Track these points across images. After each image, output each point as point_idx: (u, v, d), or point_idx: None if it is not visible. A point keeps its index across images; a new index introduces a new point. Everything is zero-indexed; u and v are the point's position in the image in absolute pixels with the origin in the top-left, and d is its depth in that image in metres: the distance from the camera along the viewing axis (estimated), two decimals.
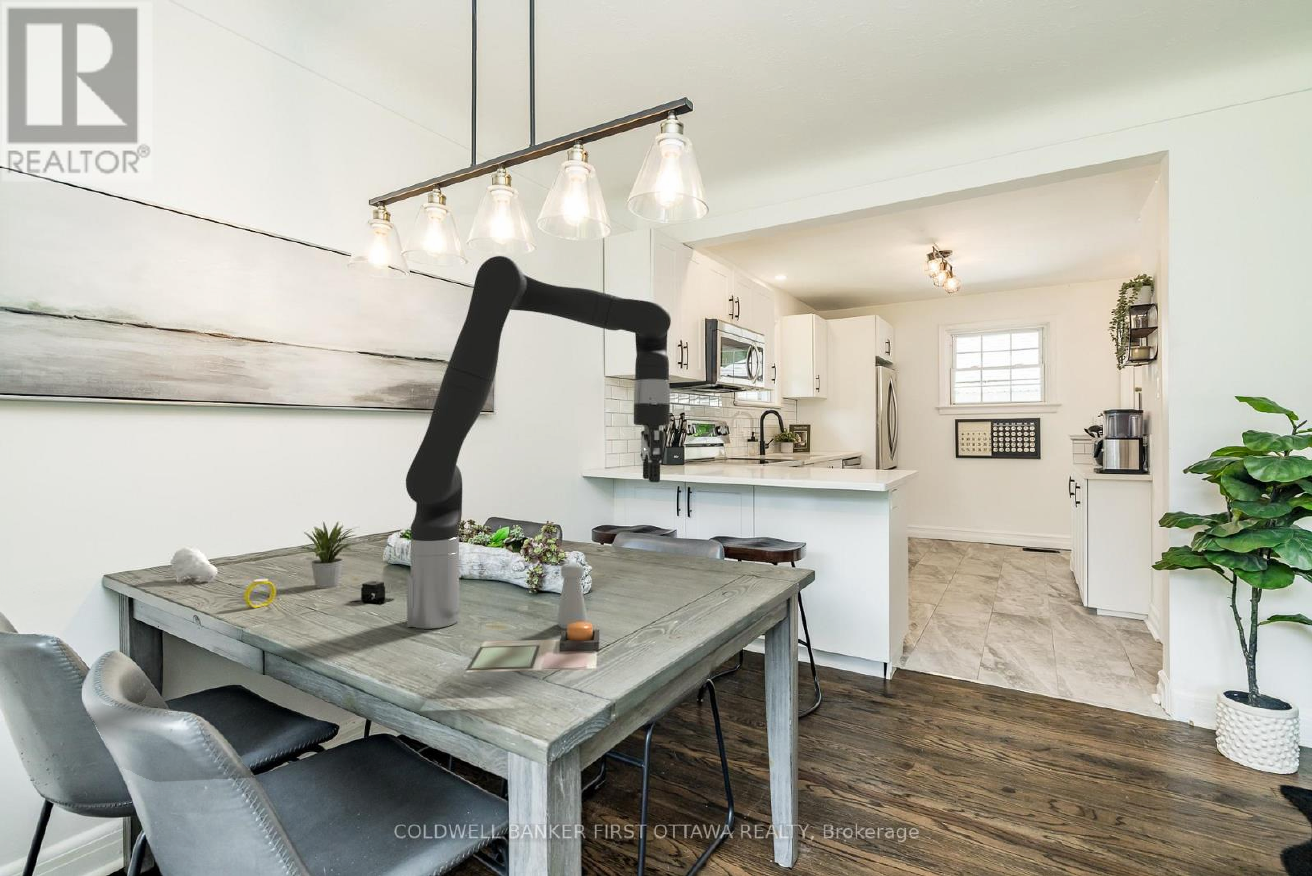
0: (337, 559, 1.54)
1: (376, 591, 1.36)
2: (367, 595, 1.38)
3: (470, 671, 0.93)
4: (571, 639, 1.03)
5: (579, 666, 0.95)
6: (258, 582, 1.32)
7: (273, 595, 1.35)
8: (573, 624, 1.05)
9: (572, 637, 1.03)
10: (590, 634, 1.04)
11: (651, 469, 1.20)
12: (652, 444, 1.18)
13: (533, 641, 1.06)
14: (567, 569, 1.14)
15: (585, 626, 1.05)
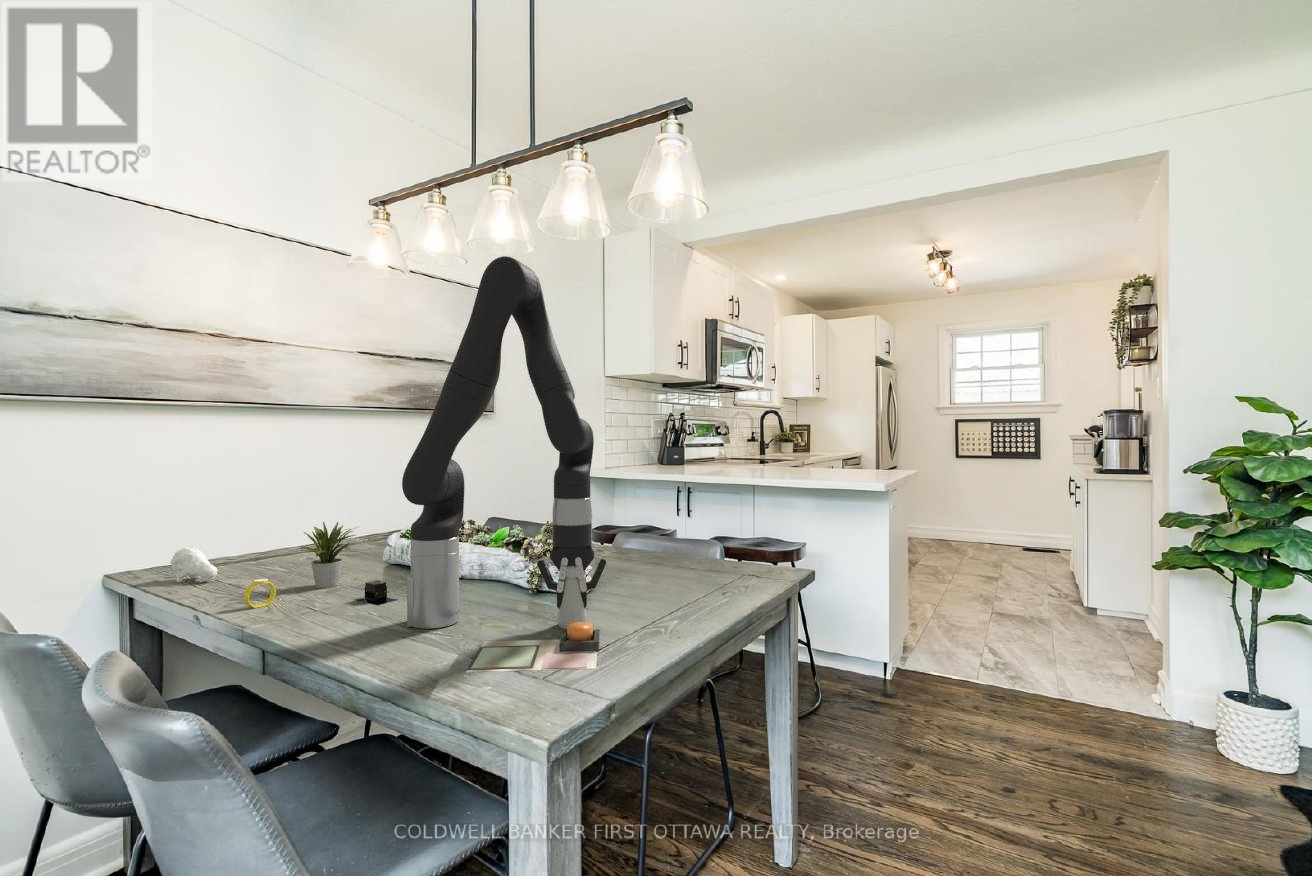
0: (337, 559, 1.54)
1: (376, 591, 1.36)
2: (371, 594, 1.39)
3: (470, 671, 0.93)
4: (571, 639, 1.03)
5: (579, 666, 0.95)
6: (258, 582, 1.32)
7: (273, 595, 1.35)
8: (573, 624, 1.05)
9: (572, 637, 1.03)
10: (590, 634, 1.04)
11: (584, 597, 1.15)
12: None
13: (533, 641, 1.06)
14: (567, 569, 1.14)
15: (585, 626, 1.05)
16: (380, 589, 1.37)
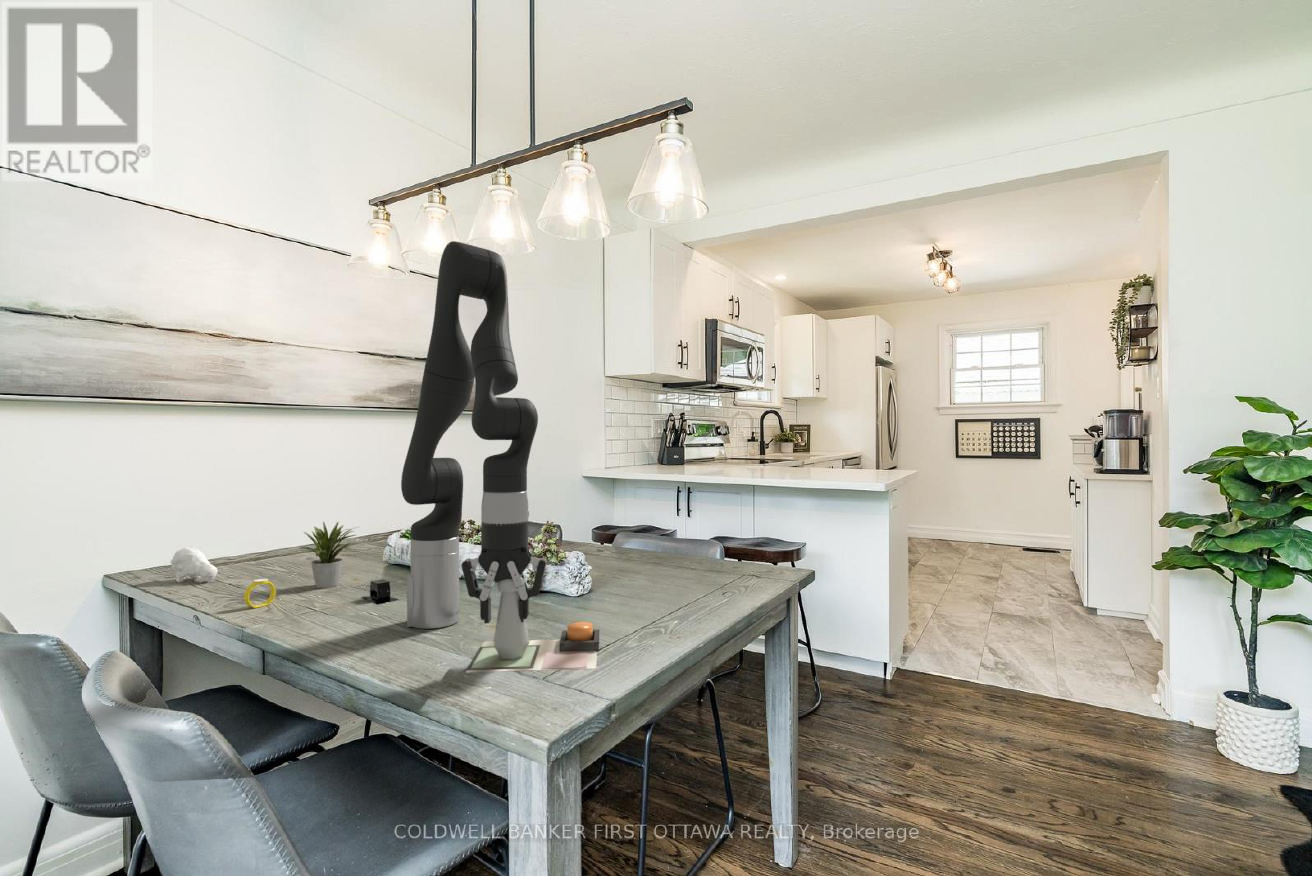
0: (337, 559, 1.54)
1: (378, 590, 1.37)
2: (377, 592, 1.41)
3: (470, 671, 0.93)
4: (571, 639, 1.03)
5: (579, 666, 0.95)
6: (258, 582, 1.32)
7: (273, 595, 1.35)
8: (573, 624, 1.05)
9: (572, 637, 1.03)
10: (590, 634, 1.04)
11: (525, 606, 0.98)
12: (542, 577, 0.98)
13: (533, 641, 1.06)
14: (503, 582, 0.98)
15: (585, 626, 1.05)
16: (383, 588, 1.38)
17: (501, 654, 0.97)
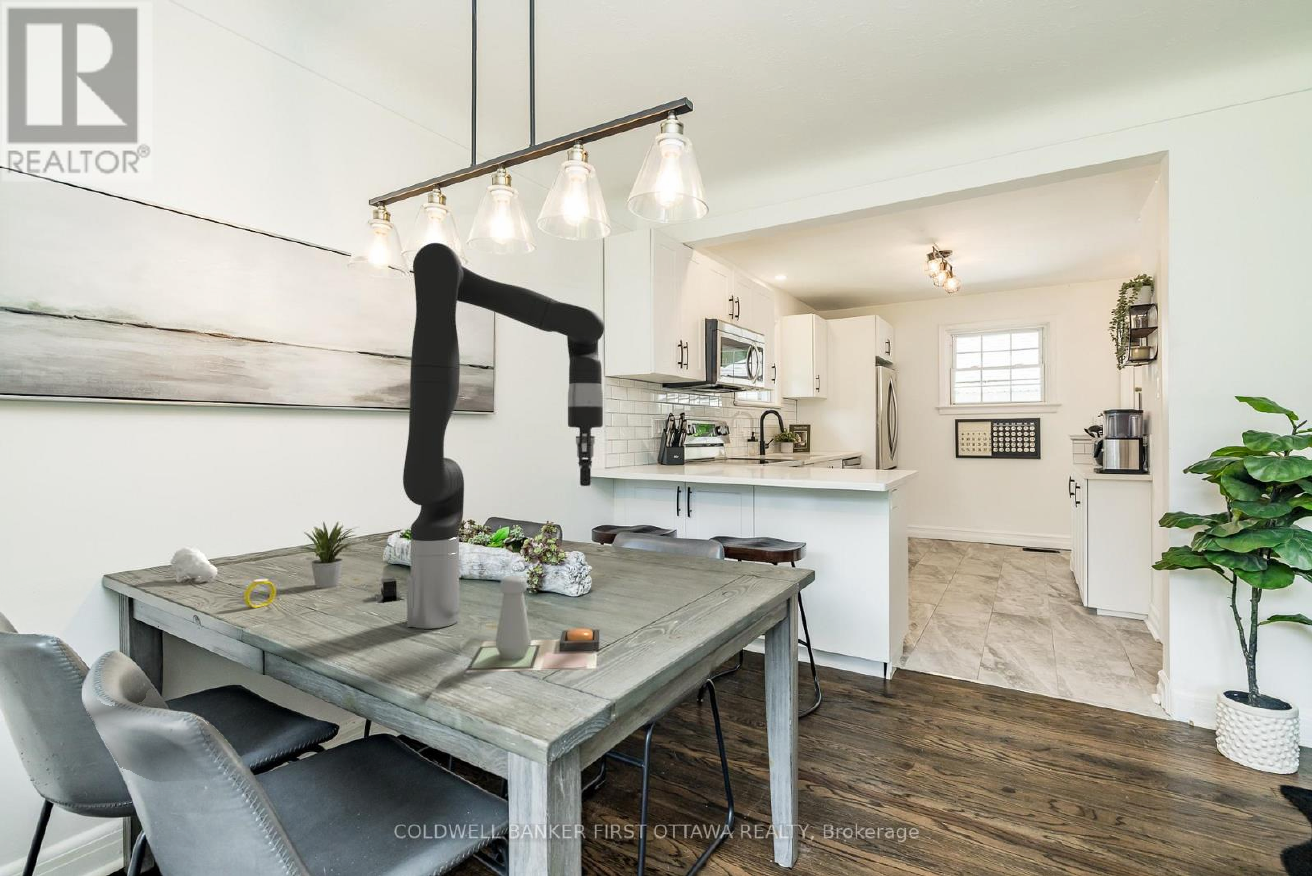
0: (337, 559, 1.54)
1: (384, 588, 1.38)
2: None
3: (470, 671, 0.93)
4: None
5: (579, 666, 0.95)
6: (258, 582, 1.32)
7: (273, 595, 1.35)
8: (573, 631, 1.05)
9: None
10: None
11: None
12: None
13: (533, 641, 1.06)
14: (506, 584, 0.97)
15: (585, 632, 1.05)
16: (389, 587, 1.39)
17: (503, 655, 0.97)
